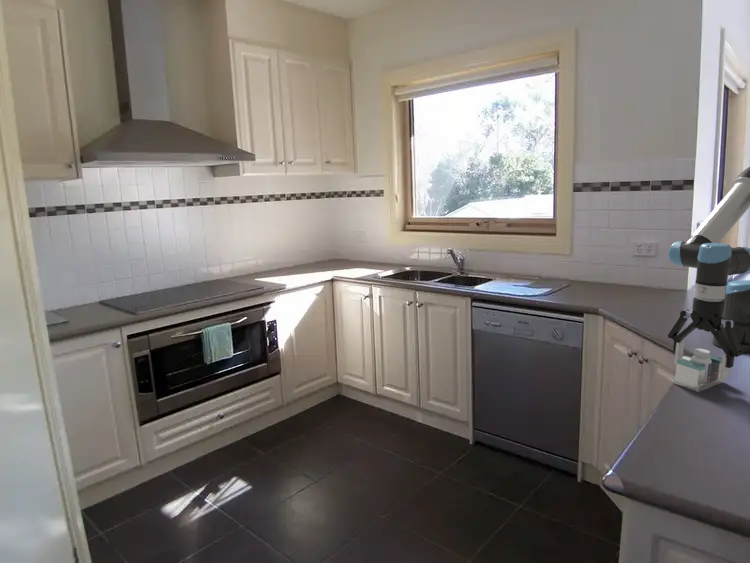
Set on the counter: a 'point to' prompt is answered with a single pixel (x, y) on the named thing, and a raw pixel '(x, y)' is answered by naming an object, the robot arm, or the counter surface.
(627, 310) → the counter surface
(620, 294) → the counter surface
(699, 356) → the pill bottle
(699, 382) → the teal white block
